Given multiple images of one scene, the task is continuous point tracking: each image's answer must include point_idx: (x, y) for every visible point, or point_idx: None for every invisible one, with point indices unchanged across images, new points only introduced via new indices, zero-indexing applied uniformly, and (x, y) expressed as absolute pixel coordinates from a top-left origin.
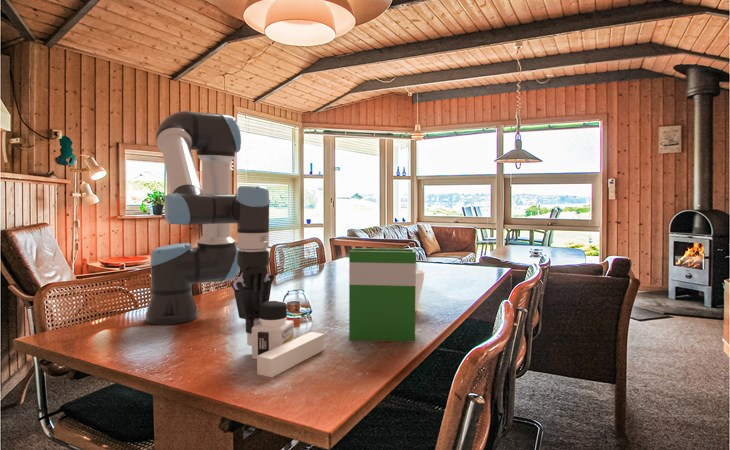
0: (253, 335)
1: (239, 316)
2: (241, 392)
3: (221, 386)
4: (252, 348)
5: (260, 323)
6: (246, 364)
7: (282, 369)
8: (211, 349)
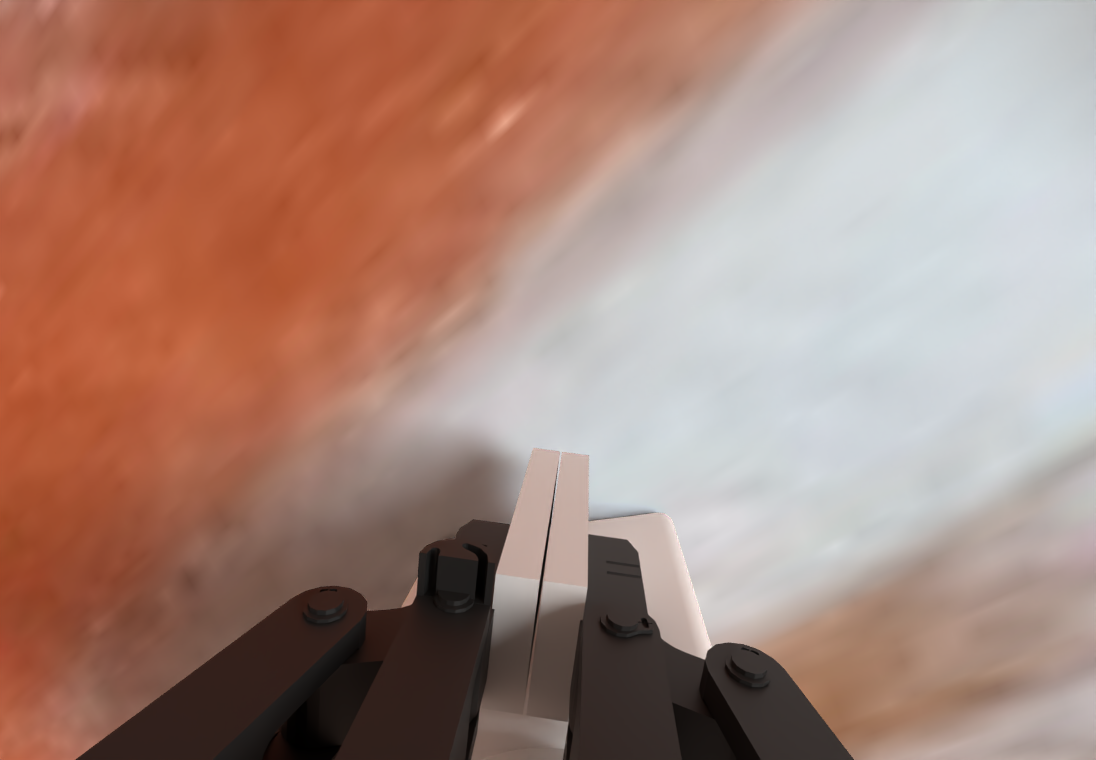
0: None
1: (285, 614)
2: (38, 742)
3: (31, 613)
4: (411, 588)
5: (476, 757)
6: (344, 556)
7: None
8: (484, 90)
